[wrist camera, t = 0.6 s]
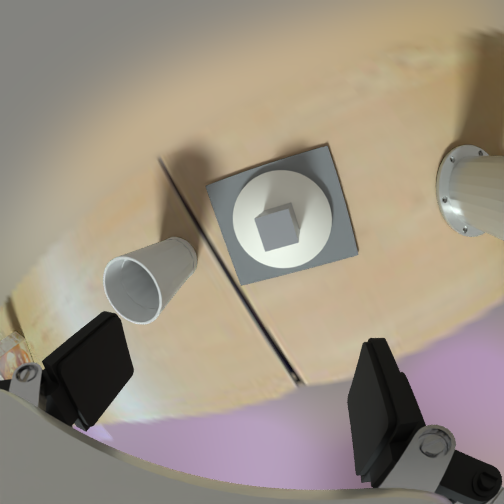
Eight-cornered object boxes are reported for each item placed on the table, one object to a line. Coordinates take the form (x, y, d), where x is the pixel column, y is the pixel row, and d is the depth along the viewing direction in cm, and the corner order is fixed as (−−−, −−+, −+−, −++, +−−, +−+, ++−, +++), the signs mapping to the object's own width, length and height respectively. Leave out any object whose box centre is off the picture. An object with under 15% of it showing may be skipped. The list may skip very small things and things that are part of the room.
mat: (327, 146, 30) (327, 145, 30) (357, 253, 33) (358, 254, 33) (206, 185, 34) (205, 186, 34) (241, 284, 37) (241, 285, 37)
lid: (314, 157, 30) (316, 153, 24) (341, 251, 33) (349, 270, 26) (222, 188, 34) (201, 192, 27) (252, 275, 36) (240, 298, 30)
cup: (146, 237, 38) (94, 263, 27) (193, 225, 36) (146, 249, 25) (163, 287, 40) (118, 325, 29) (209, 280, 38) (172, 322, 27)
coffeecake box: (38, 372, 62) (4, 403, 44) (27, 363, 63) (-7, 391, 45) (25, 338, 58) (-15, 368, 39) (15, 329, 59) (-24, 357, 40)
